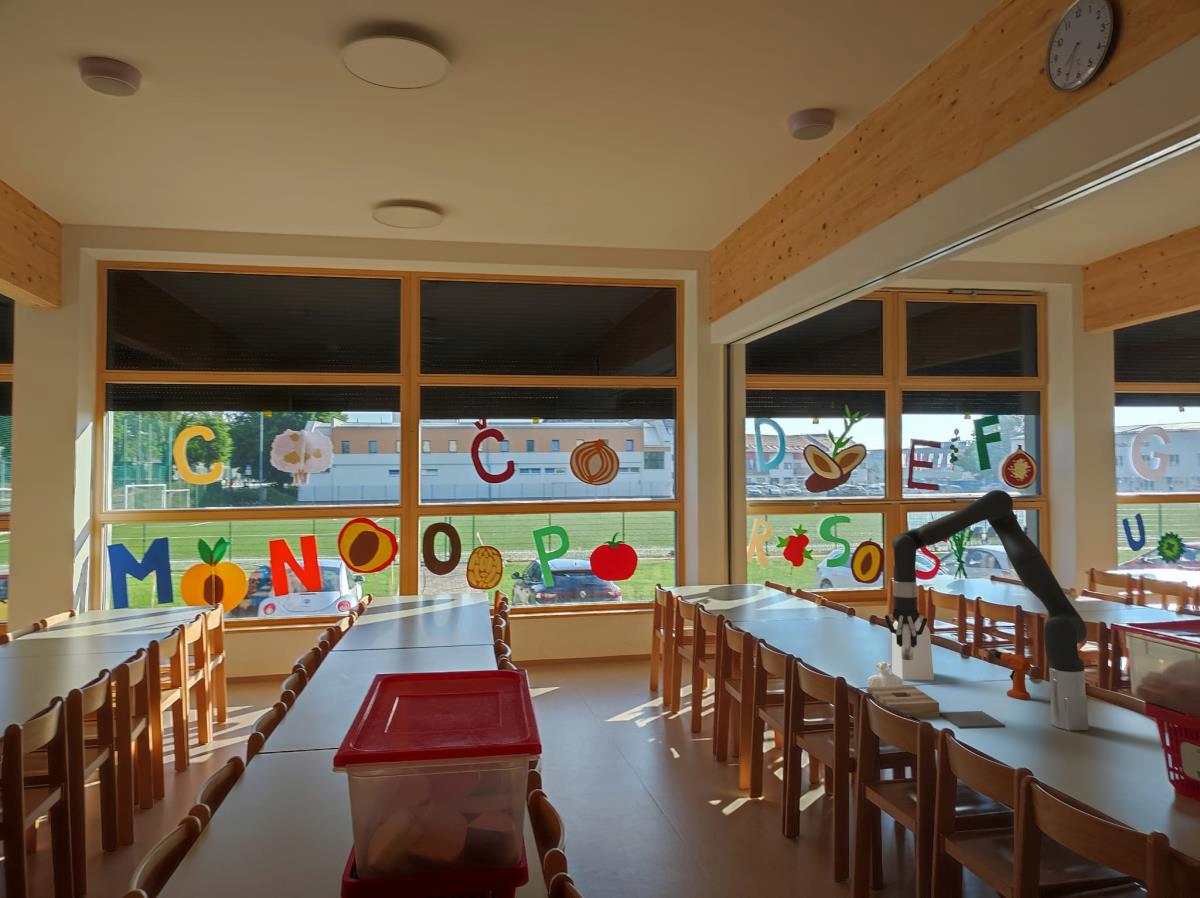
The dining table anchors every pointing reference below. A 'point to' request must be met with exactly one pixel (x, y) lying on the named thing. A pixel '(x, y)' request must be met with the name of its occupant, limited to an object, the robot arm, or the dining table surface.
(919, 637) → the milk
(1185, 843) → the dining table surface
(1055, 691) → the robot arm
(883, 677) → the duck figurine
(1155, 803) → the dining table surface
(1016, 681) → the toy drill
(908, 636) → the silver metal cylinder
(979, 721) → the rubber mat
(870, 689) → the block
